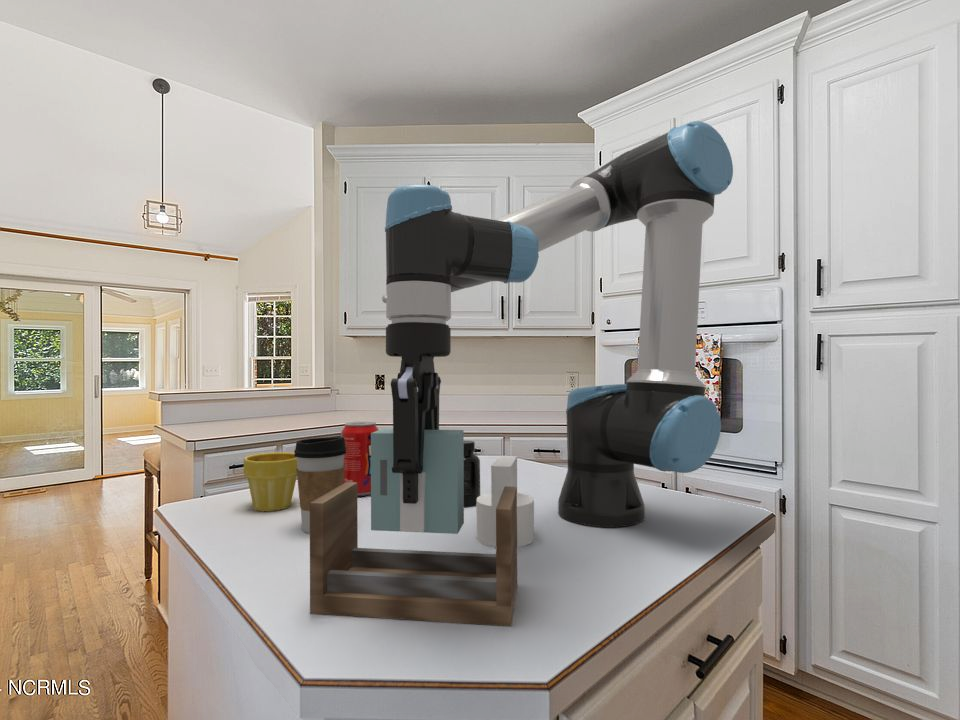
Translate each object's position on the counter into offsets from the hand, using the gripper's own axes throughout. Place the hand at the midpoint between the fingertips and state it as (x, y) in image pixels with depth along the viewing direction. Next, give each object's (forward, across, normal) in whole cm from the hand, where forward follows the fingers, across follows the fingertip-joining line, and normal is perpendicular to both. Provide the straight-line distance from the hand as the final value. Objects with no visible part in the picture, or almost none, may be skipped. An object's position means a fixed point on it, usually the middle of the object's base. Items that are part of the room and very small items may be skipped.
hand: (418, 523), depth 59 cm
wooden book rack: (+9, 0, 0) cm, 9 cm away
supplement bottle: (+9, -41, -2) cm, 42 cm away
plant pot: (+9, -34, -38) cm, 52 cm away
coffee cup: (+9, -23, -23) cm, 34 cm away
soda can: (+9, -46, -25) cm, 53 cm away
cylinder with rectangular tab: (+9, -22, +8) cm, 25 cm away
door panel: (0, 0, 0) cm, 0 cm away
